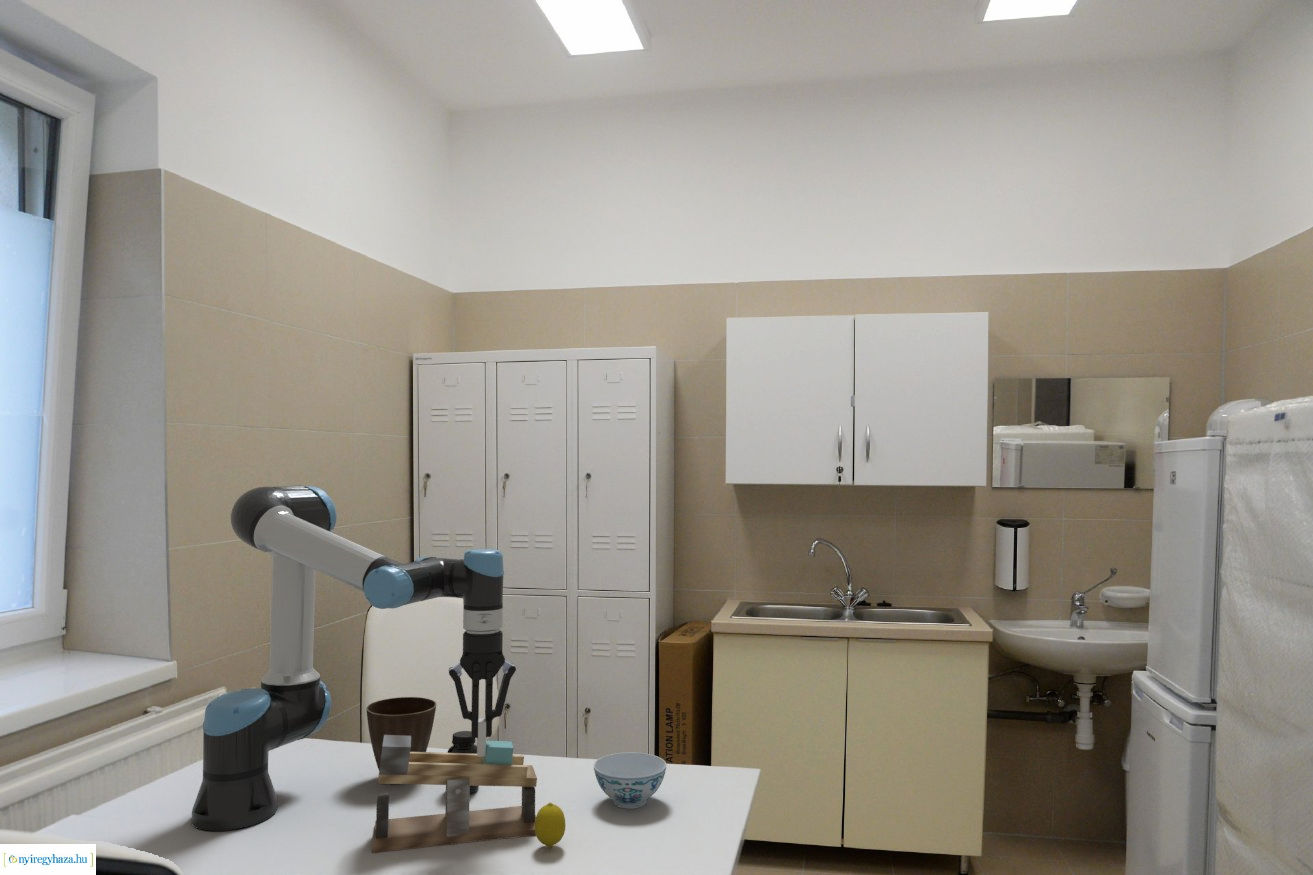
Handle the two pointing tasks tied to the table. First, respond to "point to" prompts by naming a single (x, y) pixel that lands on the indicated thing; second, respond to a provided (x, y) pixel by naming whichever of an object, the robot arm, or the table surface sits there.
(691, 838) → the table surface
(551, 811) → the lemon
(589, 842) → the table surface
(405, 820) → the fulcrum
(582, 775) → the table surface
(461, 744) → the supplement bottle
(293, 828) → the table surface
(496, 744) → the block
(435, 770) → the beam
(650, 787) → the chinaware
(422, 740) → the plant pot
